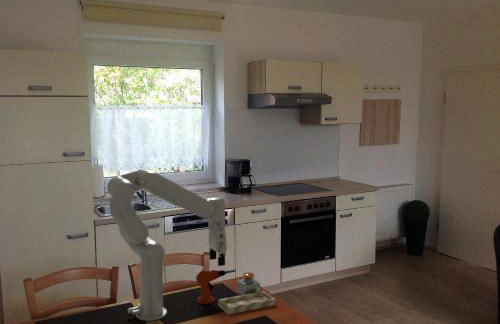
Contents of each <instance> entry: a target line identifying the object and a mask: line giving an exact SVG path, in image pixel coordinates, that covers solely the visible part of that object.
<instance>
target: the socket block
mask: <svg viewBox="0 0 500 324" xmlns="http://www.w3.org/2000/svg"><path fill="white" fill-rule="evenodd" d="M237 292H238V293H239V296H241V295H246V294H252V293H257V292H261V283H260V282H259V281H258V280H257V279H255V278H254V277H253V278H252V283H248V284H246V283H245V278H242V279H237V280H236V293H237ZM238 293H237V294H238Z"/></svg>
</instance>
